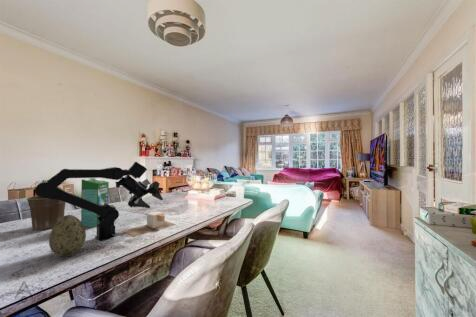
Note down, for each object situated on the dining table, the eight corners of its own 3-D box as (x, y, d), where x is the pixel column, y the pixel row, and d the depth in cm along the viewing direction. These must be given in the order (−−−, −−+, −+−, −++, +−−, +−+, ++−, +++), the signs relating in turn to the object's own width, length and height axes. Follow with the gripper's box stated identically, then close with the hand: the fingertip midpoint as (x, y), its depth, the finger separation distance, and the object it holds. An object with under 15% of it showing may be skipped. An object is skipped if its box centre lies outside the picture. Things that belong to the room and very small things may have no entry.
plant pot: (16, 232, 103) (16, 199, 103) (43, 222, 119) (44, 193, 119) (52, 231, 105) (52, 198, 105) (74, 221, 121) (74, 193, 121)
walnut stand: (133, 239, 96) (133, 228, 96) (121, 233, 103) (121, 222, 103) (176, 226, 115) (176, 217, 115) (162, 222, 122) (163, 213, 122)
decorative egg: (50, 253, 81) (50, 214, 81) (84, 246, 88) (85, 210, 88) (47, 265, 73) (48, 221, 72) (86, 256, 79) (86, 216, 79)
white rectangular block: (145, 225, 113) (145, 213, 113) (155, 222, 117) (155, 210, 117) (157, 229, 106) (157, 216, 106) (168, 226, 111) (168, 214, 111)
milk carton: (97, 226, 113) (98, 179, 113) (80, 226, 113) (81, 179, 113) (108, 221, 122) (108, 177, 122) (92, 221, 122) (93, 177, 122)
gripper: (150, 166, 109) (172, 185, 117) (125, 184, 114) (147, 200, 122) (144, 180, 100) (168, 199, 108) (117, 198, 105) (141, 215, 113)
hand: (156, 203), depth 113 cm, fingers open, 9 cm apart
